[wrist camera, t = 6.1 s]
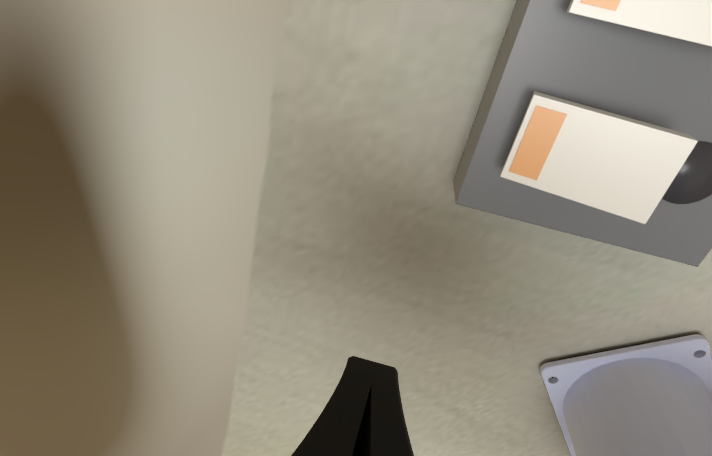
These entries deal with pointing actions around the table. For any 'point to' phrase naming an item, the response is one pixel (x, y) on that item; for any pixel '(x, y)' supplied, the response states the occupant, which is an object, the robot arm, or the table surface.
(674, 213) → the power strip
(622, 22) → the rocker
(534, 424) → the table surface
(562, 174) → the white rectangular block
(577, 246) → the table surface
